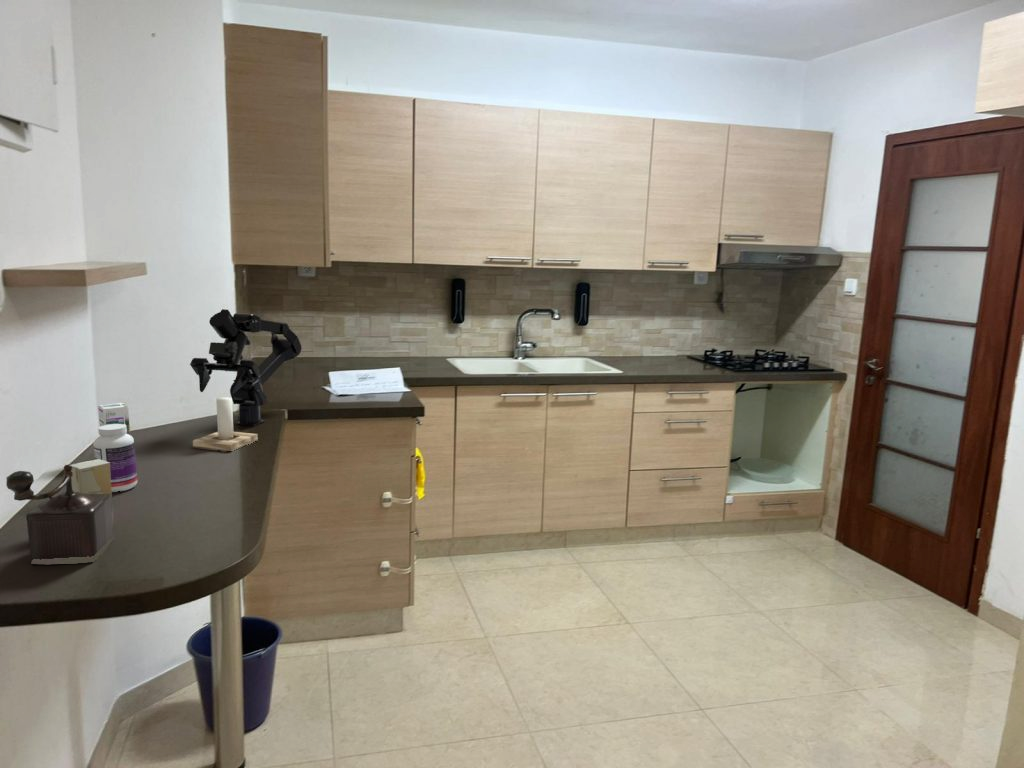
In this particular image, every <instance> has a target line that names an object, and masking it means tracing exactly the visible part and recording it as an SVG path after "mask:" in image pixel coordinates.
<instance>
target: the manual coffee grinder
mask: <svg viewBox="0 0 1024 768" xmlns="http://www.w3.org/2000/svg"><path fill="white" fill-rule="evenodd" d="M71 465H72V464H69V463H68V464H64V466H63V471H64V472H63V478H62V480H61V481H60V483H59V484H58V485H57V486H56V487H55V488H54V489H52V490H50V491H48V492H45V493H41V494H34V491H33V490H32V488H31V487H32V485H33V484H34V482H35V480H34V475H33V474H32V473H31V472H30V471H25V470H19V471H17V470H16V471H14V472H12V473H11V474H9V475H8V476H6V477H5V478H6V488H7V489H8V490H10V491H11V492H13V493H14V496H13V500H15V501H26V500H27V501H28V500H29V501H32V500H33V501H35V500H36V501H37V500H42V501H40V502H39V503H37V504H38V505H37V506H36V507H34V509H32V510H31V511H29V512H28V513H27V514H26V522H27V534H28V545H29V552H30V553H29V554H30V561H31V560H33V559H40V560H41V559H54V558H69V557H87V556H89V557H91V556H94V555H95V554H96V553H97V552H98V551H99V550H100V549H101V548H102V547H103V546H104V545H105V544H106V543H107V542H108V541H109V540H110V539H111V538H112V537H113V536H114V537H115V531H114V517H113V518H112V508H113V503H112V504H111V494H85V493H80V492H74V491H73V490H72V476H73V472H72V471H71V470H72V466H71ZM64 487H65V491H63V492H60V491H61V490H62V489H64ZM59 492H60V493H59Z"/></svg>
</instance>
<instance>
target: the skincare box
mask: <svg viewBox="0 0 1024 768" xmlns="http://www.w3.org/2000/svg"><path fill="white" fill-rule="evenodd" d="M70 465H71V466H72V470H71V471H72V472H73V476H72V490H73V491H74V492H80V493H85V494H111V504H112V505H113V496H112V495H113V492H112V491H111V474H110V462H107V461H104V460H101V459H96V460H95V459H93V460H88V461H87V460H86V461H82V462H77V463H72V464H70ZM113 508H114V507H112V517H113V518H114V514H113V512H114V511H113Z"/></svg>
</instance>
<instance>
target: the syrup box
mask: <svg viewBox="0 0 1024 768" xmlns="http://www.w3.org/2000/svg"><path fill="white" fill-rule="evenodd" d="M97 413H98V423H99V424H98V425H99V427H100V426H104V425H109V424H124V425H126V427H127V432H126V434H129V435H131V427H130V415H129V406H128V405H127V404H126V403H124V402H117V403H111V404H110V403H109V404H98V405H97Z"/></svg>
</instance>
